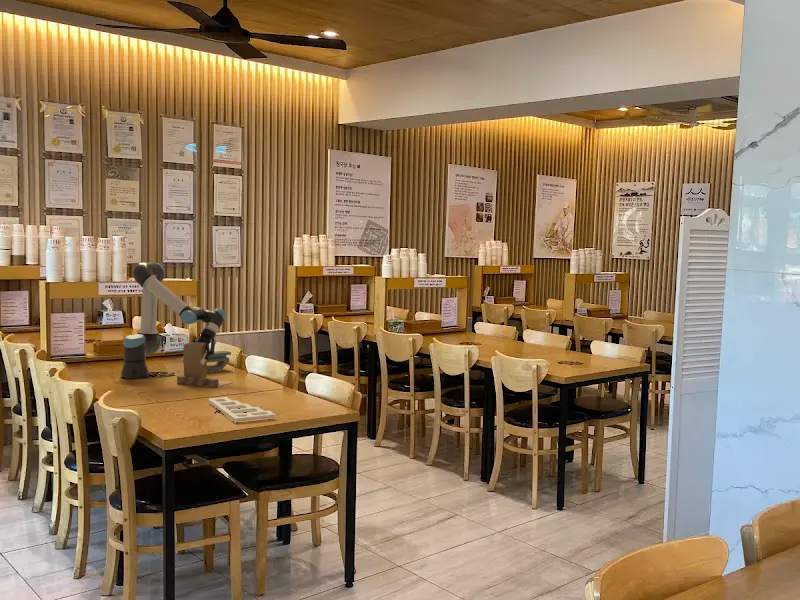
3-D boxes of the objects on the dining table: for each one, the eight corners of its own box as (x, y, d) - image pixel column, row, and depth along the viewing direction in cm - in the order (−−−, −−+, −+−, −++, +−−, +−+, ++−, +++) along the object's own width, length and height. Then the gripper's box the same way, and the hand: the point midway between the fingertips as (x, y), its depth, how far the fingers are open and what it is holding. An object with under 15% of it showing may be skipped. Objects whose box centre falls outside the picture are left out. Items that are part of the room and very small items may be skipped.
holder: (208, 404, 352) (208, 398, 351) (244, 400, 360) (244, 395, 360) (234, 424, 312) (234, 418, 312) (275, 420, 321) (275, 414, 321)
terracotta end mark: (199, 384, 398) (199, 383, 398) (213, 380, 409) (213, 380, 409) (219, 386, 393) (219, 385, 393) (232, 382, 404) (232, 382, 404)
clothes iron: (191, 374, 430) (191, 355, 429) (185, 372, 436) (185, 353, 435) (230, 370, 445) (230, 352, 444) (225, 368, 451) (225, 350, 451)
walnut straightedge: (177, 383, 399) (177, 376, 399) (180, 382, 402) (180, 375, 402) (215, 387, 389) (214, 380, 389) (218, 386, 392) (218, 379, 392)
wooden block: (207, 377, 411) (207, 342, 409) (201, 381, 401) (200, 344, 399) (189, 377, 412) (189, 341, 410) (183, 380, 402) (182, 344, 400)
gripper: (230, 337, 414) (213, 368, 401) (195, 335, 423) (177, 365, 411) (224, 329, 409) (207, 360, 396) (189, 326, 418) (171, 356, 405)
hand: (192, 362), depth 403 cm, fingers closed on wooden block, 12 cm apart
